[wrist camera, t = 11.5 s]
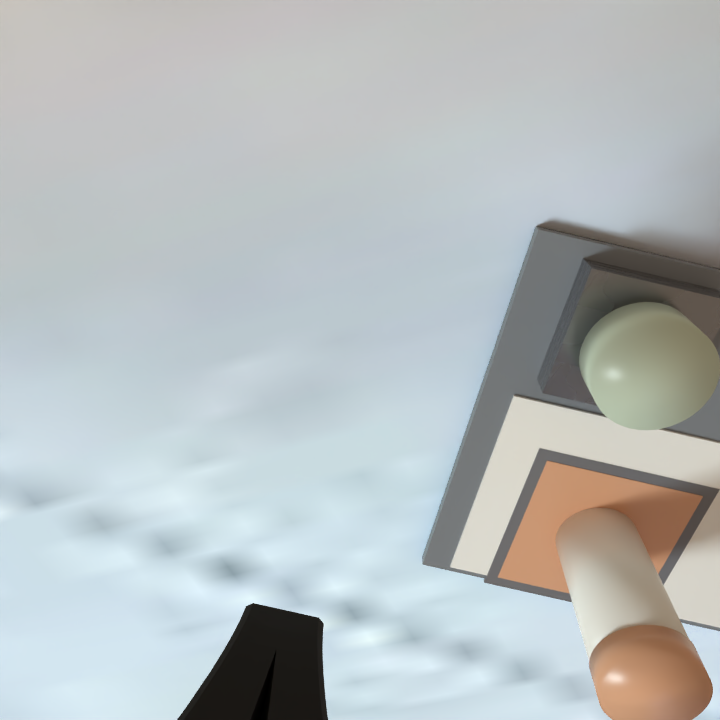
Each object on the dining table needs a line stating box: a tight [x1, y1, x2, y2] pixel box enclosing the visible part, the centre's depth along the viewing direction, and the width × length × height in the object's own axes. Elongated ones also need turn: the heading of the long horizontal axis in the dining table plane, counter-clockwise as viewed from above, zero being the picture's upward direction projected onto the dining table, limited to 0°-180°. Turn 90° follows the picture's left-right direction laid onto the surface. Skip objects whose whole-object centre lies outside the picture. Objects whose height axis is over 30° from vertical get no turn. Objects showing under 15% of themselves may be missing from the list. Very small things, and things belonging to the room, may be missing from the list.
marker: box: [555, 508, 713, 720], centre depth 19 cm, size 3×3×6 cm
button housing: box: [537, 258, 720, 406], centre depth 18 cm, size 4×4×1 cm
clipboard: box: [422, 226, 720, 631], centre depth 21 cm, size 15×13×1 cm
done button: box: [579, 302, 720, 430], centre depth 17 cm, size 3×3×3 cm
